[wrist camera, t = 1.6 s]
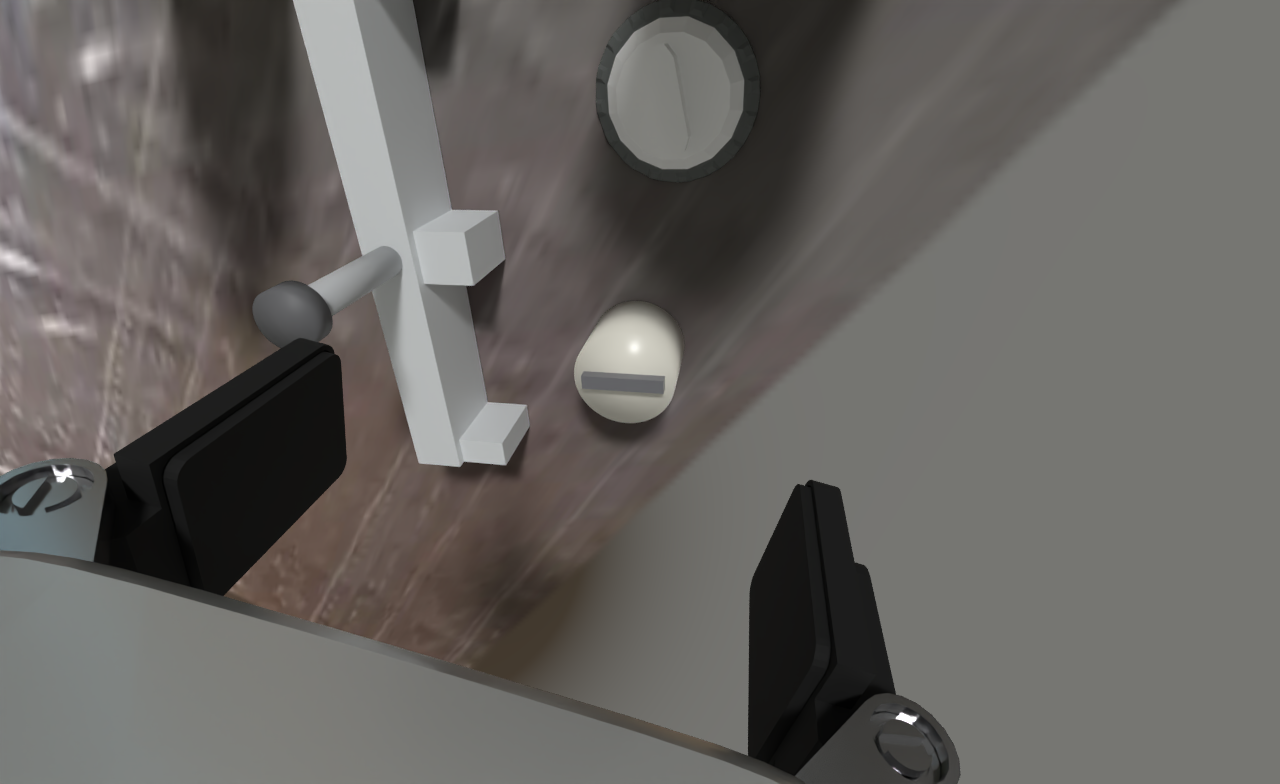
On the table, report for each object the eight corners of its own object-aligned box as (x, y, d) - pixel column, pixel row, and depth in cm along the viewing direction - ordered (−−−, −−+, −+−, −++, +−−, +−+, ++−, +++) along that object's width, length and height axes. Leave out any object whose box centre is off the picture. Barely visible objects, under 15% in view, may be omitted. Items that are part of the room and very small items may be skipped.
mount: (453, -94, 24) (237, -188, 14) (529, 425, 36) (444, 566, 27) (340, -86, 25) (63, -168, 15) (454, 420, 37) (344, 554, 27)
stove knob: (748, -28, 23) (746, -36, 21) (772, 163, 27) (773, 175, 24) (577, 24, 25) (557, 22, 23) (619, 196, 29) (605, 210, 26)
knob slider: (685, 302, 30) (674, 340, 27) (684, 386, 33) (674, 432, 29) (590, 298, 31) (566, 334, 27) (597, 381, 34) (575, 424, 30)
